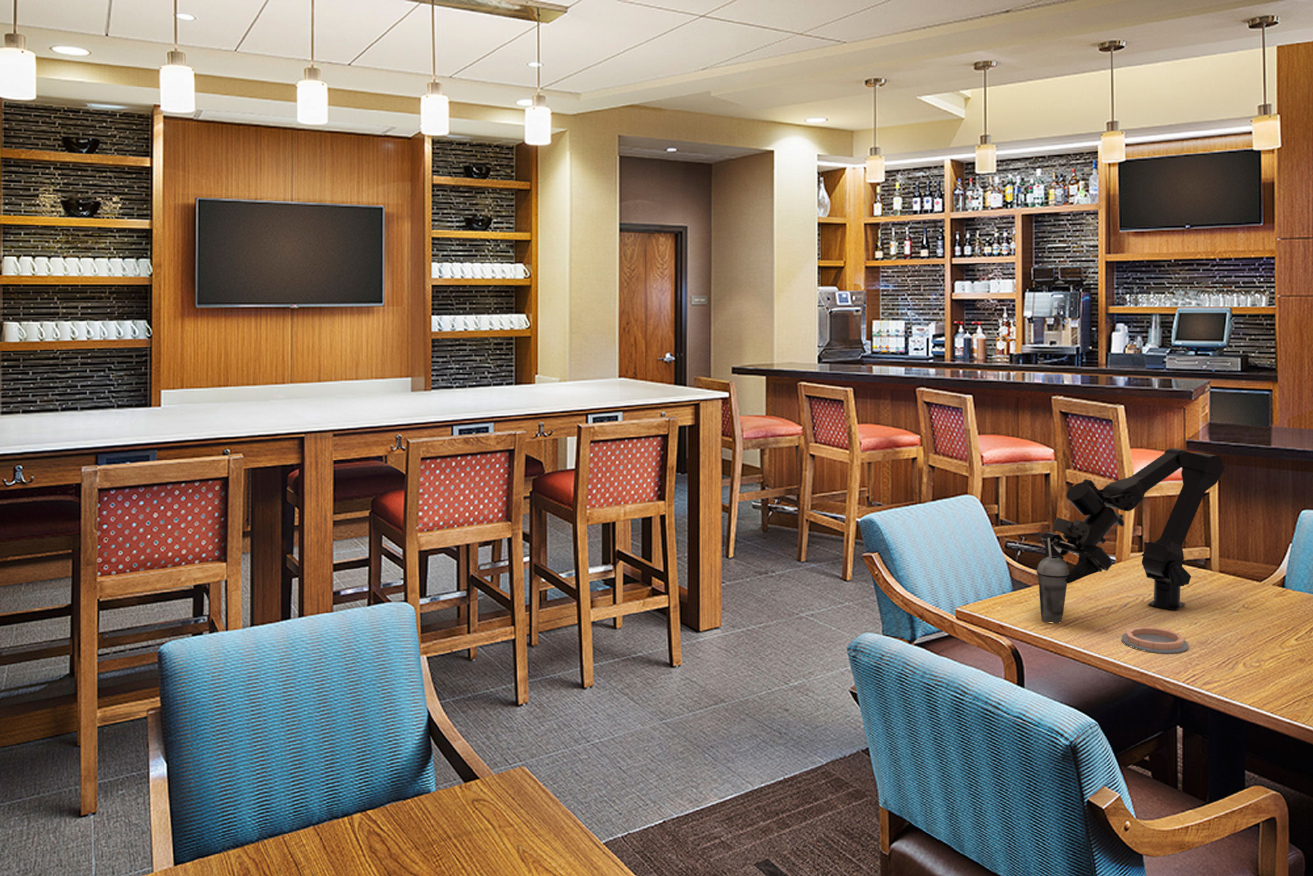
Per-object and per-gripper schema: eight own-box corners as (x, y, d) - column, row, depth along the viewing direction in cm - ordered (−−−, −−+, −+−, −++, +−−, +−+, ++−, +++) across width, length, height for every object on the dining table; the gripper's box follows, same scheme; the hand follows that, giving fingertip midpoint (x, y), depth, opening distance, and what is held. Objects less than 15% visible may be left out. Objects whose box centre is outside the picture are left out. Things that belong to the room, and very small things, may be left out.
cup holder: (1133, 629, 216) (1134, 622, 216) (1196, 642, 207) (1197, 634, 207) (1112, 644, 207) (1112, 636, 207) (1176, 658, 198) (1177, 650, 198)
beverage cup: (1071, 626, 220) (1074, 542, 217) (1038, 624, 221) (1040, 541, 219) (1064, 616, 227) (1067, 535, 224) (1032, 615, 228) (1034, 534, 226)
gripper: (1048, 498, 231) (1008, 546, 230) (1103, 513, 213) (1060, 565, 212) (1074, 528, 234) (1035, 575, 233) (1131, 544, 216) (1088, 596, 215)
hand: (1053, 577), depth 223 cm, fingers open, 9 cm apart
